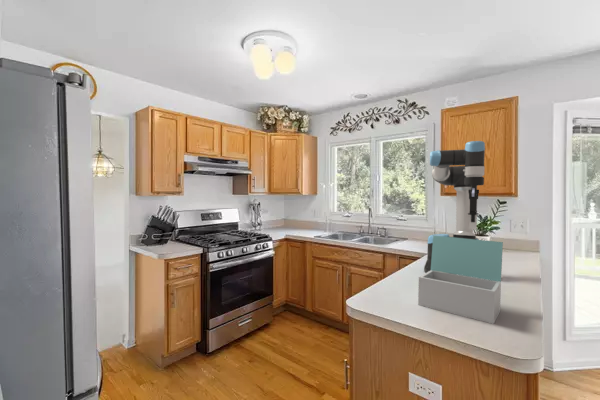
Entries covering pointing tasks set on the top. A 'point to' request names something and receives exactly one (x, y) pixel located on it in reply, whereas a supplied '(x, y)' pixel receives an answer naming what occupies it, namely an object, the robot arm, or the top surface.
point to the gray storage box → (460, 295)
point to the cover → (467, 257)
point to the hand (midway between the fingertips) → (472, 229)
